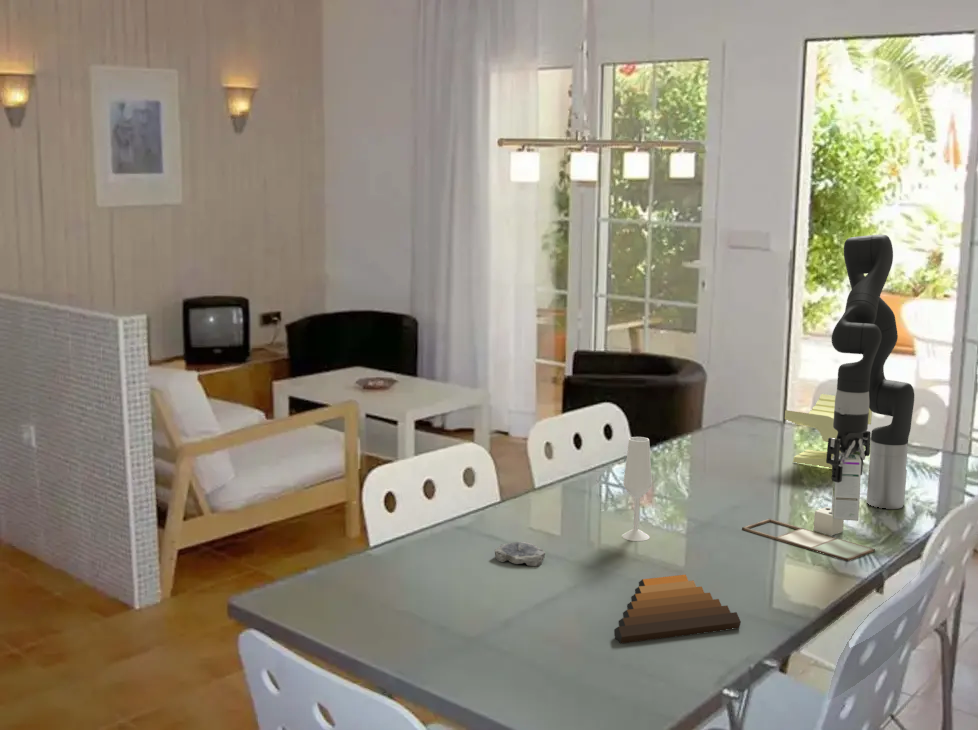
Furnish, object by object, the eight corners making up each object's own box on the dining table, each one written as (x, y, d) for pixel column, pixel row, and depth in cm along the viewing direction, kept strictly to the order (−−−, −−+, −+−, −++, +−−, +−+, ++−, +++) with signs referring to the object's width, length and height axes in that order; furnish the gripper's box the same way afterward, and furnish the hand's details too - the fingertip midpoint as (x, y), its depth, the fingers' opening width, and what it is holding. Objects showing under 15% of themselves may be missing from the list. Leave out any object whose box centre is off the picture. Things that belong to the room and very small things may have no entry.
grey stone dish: (489, 551, 258) (504, 530, 267) (488, 567, 260) (503, 545, 268) (538, 563, 255) (551, 540, 263) (537, 578, 256) (550, 555, 265)
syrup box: (858, 521, 265) (863, 459, 263) (832, 519, 266) (836, 458, 264) (856, 513, 271) (860, 453, 268) (830, 511, 272) (834, 452, 269)
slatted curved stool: (835, 478, 331) (839, 417, 328) (781, 469, 340) (785, 410, 337) (868, 457, 355) (872, 400, 352) (817, 449, 364) (821, 393, 361)
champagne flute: (653, 534, 280) (657, 437, 275) (644, 542, 274) (648, 443, 269) (626, 530, 282) (630, 434, 278) (617, 538, 276) (621, 440, 272)
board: (769, 520, 291) (769, 518, 291) (874, 551, 270) (874, 548, 269) (742, 529, 284) (742, 527, 284) (848, 561, 262) (848, 559, 262)
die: (825, 526, 287) (826, 506, 286) (842, 531, 284) (844, 511, 283) (813, 530, 284) (814, 510, 283) (831, 535, 280) (832, 515, 279)
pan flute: (621, 647, 216) (740, 632, 224) (622, 630, 216) (741, 615, 223) (572, 599, 240) (681, 586, 247) (572, 583, 239) (681, 571, 247)
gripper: (854, 402, 271) (849, 470, 274) (819, 410, 262) (814, 480, 265) (883, 408, 266) (878, 476, 269) (848, 416, 256) (843, 487, 259)
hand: (846, 478), depth 267 cm, fingers closed on syrup box, 8 cm apart
